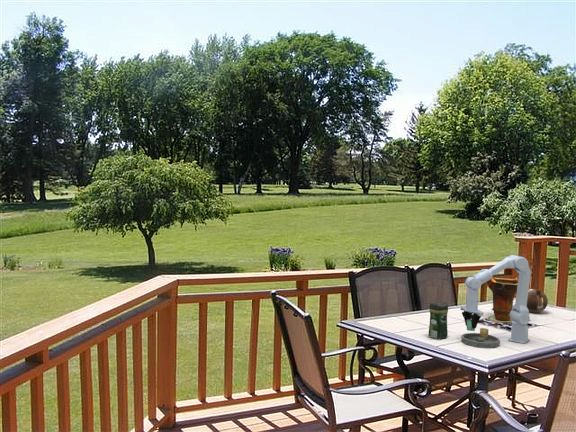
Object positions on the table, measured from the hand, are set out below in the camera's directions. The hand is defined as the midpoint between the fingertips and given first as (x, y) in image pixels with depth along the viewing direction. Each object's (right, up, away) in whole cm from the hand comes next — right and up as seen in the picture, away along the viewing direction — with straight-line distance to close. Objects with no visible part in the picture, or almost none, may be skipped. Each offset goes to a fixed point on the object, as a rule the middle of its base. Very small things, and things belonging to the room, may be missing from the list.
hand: (470, 327), depth 272 cm
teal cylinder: (0, -1, 0) cm, 1 cm away
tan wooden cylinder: (+7, -6, +1) cm, 9 cm away
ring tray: (+4, -7, -3) cm, 9 cm away
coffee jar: (-15, -7, +6) cm, 18 cm away
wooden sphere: (+64, -5, +68) cm, 93 cm away
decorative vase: (+35, -6, +47) cm, 59 cm away
